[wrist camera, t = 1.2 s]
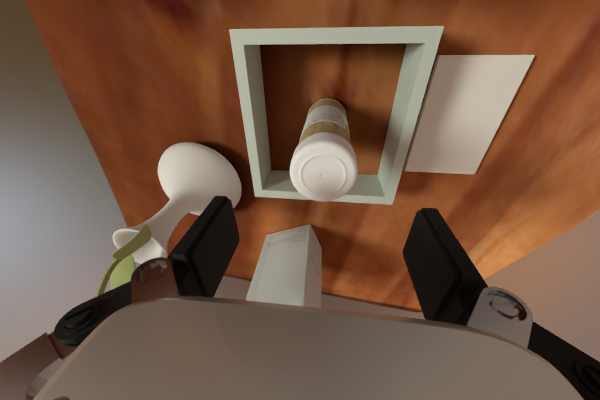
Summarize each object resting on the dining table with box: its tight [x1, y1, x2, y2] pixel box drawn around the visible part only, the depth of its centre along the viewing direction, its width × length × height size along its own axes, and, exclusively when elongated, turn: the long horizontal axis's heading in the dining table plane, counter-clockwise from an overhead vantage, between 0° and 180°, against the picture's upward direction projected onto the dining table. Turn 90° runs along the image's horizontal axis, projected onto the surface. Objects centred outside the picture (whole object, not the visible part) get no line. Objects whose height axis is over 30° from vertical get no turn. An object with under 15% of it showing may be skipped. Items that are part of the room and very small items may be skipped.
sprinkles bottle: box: [290, 98, 358, 202], centre depth 20 cm, size 5×5×13 cm
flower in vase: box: [96, 142, 242, 297], centre depth 22 cm, size 13×11×25 cm
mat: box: [404, 55, 535, 174], centre depth 24 cm, size 12×8×1 cm, turn 1°
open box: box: [229, 26, 444, 205], centre depth 23 cm, size 16×16×5 cm
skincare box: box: [246, 224, 322, 308], centre depth 32 cm, size 8×6×15 cm
